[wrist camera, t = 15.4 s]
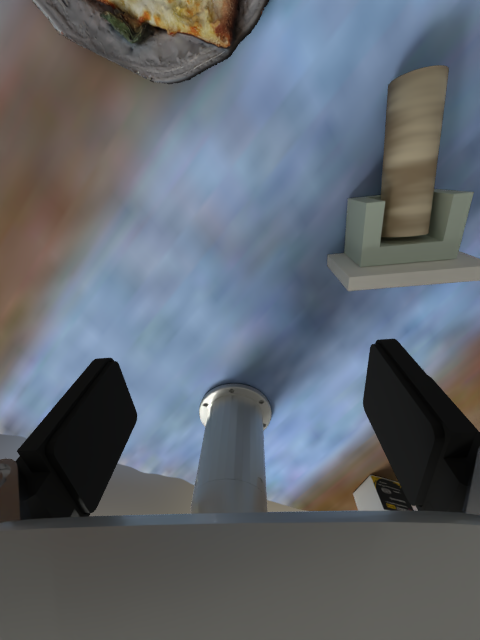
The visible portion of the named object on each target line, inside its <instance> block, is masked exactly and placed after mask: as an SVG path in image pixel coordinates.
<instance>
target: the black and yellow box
mask: <svg viewBox="0 0 480 640" xmlns="http://www.w3.org/2000/svg"><path fill="white" fill-rule="evenodd" d="M353 495H354V498H355V501H356V505H357V508H358V511H414V510H413V508H412V506H411V504H410V503H409V502H408V500H407V498H406V496H405V494H404V492H403V490H402V488H401V485H400V483H399V482H396V481H392V480H388V479H385V478H381V477H378V476H374V475H370V476H369V477H368V478H367V479H366V480H365V481H364V482H363V483H362V484H361V485H360V486H359V487H358V489H357V490H356V491H355V492H354V493H353Z"/></svg>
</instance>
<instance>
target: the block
mask: <svg viewBox="0 0 480 640" xmlns="http://www.w3.org/2000/svg"><path fill="white" fill-rule="evenodd" d="M473 193H474V192H467V191H455V190H443V189H434V193H433V201H432V209H431V217H430V225H429V233H428V234H426V235H419V236H409V237H381V232H382V224H383V216H384V208H385V201H382V200H381V195H375V196H366V197H357V198H348V204H347V218H346V233H345V247H344V254H346V255H347V256H348V257H349V258H350V259H351V260H353V261H354V262H355V263H356V264H357V265H358V266H360V267H367V266H378V265H389V264H401V263H412V262H424V261H435V260H447V259H457V255H458V251H459V247H460V244H461V240H462V236H463V232H464V228H465V224H466V220H467V216H468V212H469V209H470V205H471V201H472V197H473Z"/></svg>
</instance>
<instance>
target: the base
mask: <svg viewBox="0 0 480 640" xmlns="http://www.w3.org/2000/svg"><path fill="white" fill-rule="evenodd" d="M327 266H328V267H329V269H330V270H331V271H332V272H333V273H334V275H335V276H336V277H337V278H338V279H339V281H340V282H341V283H342V284H343V286H344V287H345V288H346V289H347V290H348V291H355V290H368V289H380V288H392V287H405V286H417V285H429V284H442V283H454V282H466V281H479V280H480V259H479V258H476V257H474V256H471V255H468V254H465V253H463V252H460V251H458V255H457V259H447V260H435V261H424V262H412V263H401V264H389V265H378V266H367V267H360V266H358V265H357V264H356V263H355V262H354V261H353V260H351V259H350V258H349V257H348V256H347V255H346V254H344V253H340V254H329V255H328V258H327Z"/></svg>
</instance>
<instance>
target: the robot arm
mask: <svg viewBox="0 0 480 640" xmlns="http://www.w3.org/2000/svg"><path fill="white" fill-rule="evenodd" d="M363 406H364V410H365V412H366V415H367V417H368V419H369V421H370V423H371V425H372V427H373V429H374V431H375V433H376V435H377V438H378V440H379V442H380V444H381V446H382V448H383V450H384V452H385V454H386V456H387V458H388V460H389V463H390V465H391V467H392V469H393V471H394V473H395V475H396V477H397V479H398V481H399V483H400V485H401V488H402V490H403V492H404V494H405V496H406V498H407V500H408V502H409V503H410V504H411V505H412V506H415V505H416V507H417V509H418V511H309V512H267V497H266V476H265V455H264V435H263V431H264V430H265V429H266V428H267V426H268V425H269V423H270V420H271V406H270V403H269V401H268V399H267V398H266V397H265V396H264V395H263V394H262V393H261V392H260V391H258V390H257V389H255V388H253V387H251V386H247V385H243V384H225V385H221V386H218V387H216V388H214V389H212V390H210V391H209V392H208V393H207V394H206V395H205V396H204V397H203V399H202V401H201V404H200V408H199V415H200V419H201V421H202V423H203V425H204V426H205V432H204V437H203V443H202V448H201V454H200V459H199V465H198V471H197V476H196V482H195V487H194V493H193V499H192V504H191V514H165V515H164V514H161V515H124V516H93V517H92V516H89V515H90V513H92V512H94V510H96V508H97V506H98V504H99V502H100V500H101V497H102V495H103V493H104V491H105V489H106V487H107V484H108V482H109V480H110V478H111V476H112V474H113V471H114V469H115V467H116V465H117V463H118V461H119V458H120V456H121V454H122V452H123V450H124V448H125V445H126V443H127V441H128V439H129V437H130V434H131V432H132V430H133V428H134V426H135V424H136V421H137V412H136V409H135V407H134V404H133V401H132V399H131V396H130V393H129V391H128V388H127V385H126V383H125V380H124V377H123V374H122V372H121V369H120V366H119V364H118V362H116V361H114V360H113V359H112V358H101V359H95V360H93V361H92V362H91V364H90V365H89V366H88V367H87V368H86V370H85V371H84V372H83V373H82V374H81V376H80V377H79V378H78V379H77V380H76V381H75V383H74V384H73V385H72V386H71V387H70V389H69V390H68V391H67V392H66V393H65V395H64V396H63V397H62V398H61V399H60V400H59V402H58V403H57V404H56V405H55V406H54V408H53V409H52V410H51V411H50V412H49V413H48V415H47V416H46V417H45V418H44V419H43V421H42V422H41V423H40V424H39V425H38V427H37V428H36V429H35V430H34V431H33V432H32V434H31V435H30V436H29V437H28V438H27V440H26V441H25V442H24V443H23V444H22V446H21V447H20V448H19V449H18V450H17V452H18V453H19V455H20V457H19V458H18V459H17V460H16V461H14V460H12V459H1V460H0V640H480V432H479V431H478V430H477V429H476V428H475V427H474V425H473V424H472V423H471V422H470V421H469V420H468V419H467V418H466V416H465V415H464V414H463V413H462V412H461V411H460V410H459V408H458V407H457V406H456V405H455V404H454V403H453V402H452V401H451V399H450V398H449V397H448V396H447V395H446V394H445V393H444V391H443V390H442V389H441V388H440V387H439V386H438V385H437V384H436V382H435V381H434V380H433V379H432V378H431V377H430V376H428V375H427V374H426V373H425V372H424V371H423V370H422V368H421V367H420V366H419V365H418V364H417V363H416V362H415V360H414V359H413V358H412V357H411V356H410V355H409V354H408V352H407V351H406V350H405V349H404V348H403V347H402V346H401V344H400V343H399V342H398V341H397V340H396V339H383V340H377V341H376V343H375V344H372V345H371V347H370V353H369V361H368V368H367V376H366V383H365V391H364V398H363Z"/></svg>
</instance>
